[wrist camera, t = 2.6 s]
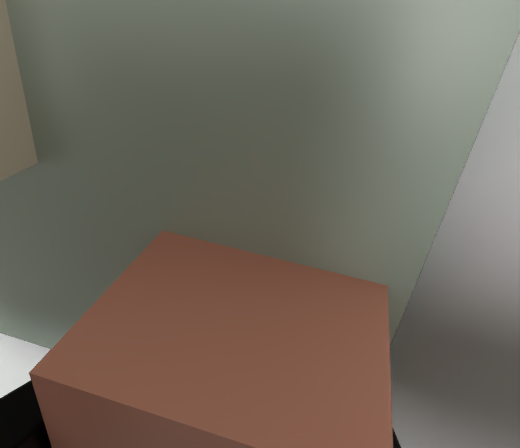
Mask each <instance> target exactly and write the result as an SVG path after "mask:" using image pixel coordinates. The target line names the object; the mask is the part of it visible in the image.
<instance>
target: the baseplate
mask: <svg viewBox="0 0 520 448" xmlns="http://www.w3.org/2000/svg"><path fill="white" fill-rule="evenodd" d="M5 1H6V6H7V11H8V16H9V21H10V26H11V31H12V35H13V40H14V45H15V50H16V55H17V60H18V65H19V70H20V75H21V80H22V85H23V90H24V95H25V100H26V105H27V110H28V115H29V120H30V125H31V130H32V135H33V140H34V145H35V150H36V155H37V160H38V163H37V164H35V165H32V166H30V167H28V168H26V169H24V170H22V171H20V172H18V173H16V174H14V175H12V176H10V177H7V178H5V179H3V180H1V181H0V333H2V334H5V335H9V336H12V337H15V338H18V339H21V340H24V341H28V342H31V343H34V344H37V345H40V346H44V347H47V348H50V349H52V348H53V347H54V346H55V345H56V344H57V343H58V341H59V340H60V339H61V338H62V337H63V336H64V335H65V334H66V333H67V332H68V331H69V330H70V329H71V328H72V326H73V325H74V324H75V323H76V322H77V321H78V320H79V319H80V318H81V317H82V316H83V315H84V314H85V313H86V311H87V310H88V309H89V308H90V307H91V306H92V305H93V304H94V303H95V302H96V301H97V300H98V299H99V298H100V296H101V295H102V294H103V293H104V292H105V291H106V290H107V289H108V288H109V287H110V286H111V285H112V284H113V283H114V282H115V280H116V279H117V278H118V277H119V276H120V275H121V274H122V273H123V272H124V271H125V270H126V269H127V268H128V267H129V265H130V264H131V263H132V262H133V261H134V260H135V259H136V258H137V257H138V256H139V255H140V254H141V253H142V252H143V250H144V249H145V248H146V247H147V246H148V245H149V244H150V243H151V242H152V241H153V240H154V239H155V238H156V237H157V236H158V234H159V233H160V232H161V231H162V230H163V231H167V232H171V233H175V234H179V235H183V236H187V237H191V238H195V239H199V240H203V241H208V242H212V243H216V244H220V245H224V246H228V247H232V248H236V249H240V250H244V251H248V252H252V253H256V254H261V255H265V256H269V257H273V258H277V259H281V260H285V261H289V262H293V263H297V264H301V265H305V266H309V267H314V268H318V269H322V270H326V271H330V272H334V273H338V274H342V275H346V276H350V277H354V278H358V279H362V280H367V281H371V282H375V283H379V284H383V285H387V286H388V312H389V342H390V345H391V343H392V341H393V338H394V336H395V333H396V331H397V328H398V326H399V324H400V321H401V319H402V316H403V314H404V311H405V309H406V307H407V304H408V302H409V299H410V297H411V295H412V292H413V290H414V287H415V285H416V282H417V280H418V278H419V275H420V273H421V270H422V268H423V265H424V263H425V261H426V258H427V256H428V253H429V251H430V248H431V246H432V244H433V241H434V239H435V236H436V234H437V231H438V229H439V227H440V224H441V222H442V219H443V217H444V214H445V212H446V210H447V207H448V205H449V202H450V200H451V197H452V195H453V193H454V190H455V188H456V185H457V183H458V180H459V178H460V176H461V173H462V171H463V168H464V166H465V164H466V161H467V159H468V156H469V154H470V151H471V149H472V147H473V144H474V142H475V139H476V137H477V134H478V132H479V130H480V127H481V125H482V122H483V120H484V117H485V115H486V113H487V110H488V108H489V105H490V103H491V100H492V98H493V96H494V93H495V91H496V88H497V86H498V83H499V81H500V79H501V76H502V74H503V71H504V69H505V66H506V64H507V62H508V59H509V57H510V54H511V52H512V50H513V47H514V45H515V42H516V40H517V37H518V35H519V33H520V0H5Z"/></svg>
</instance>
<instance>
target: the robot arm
mask: <svg viewBox="0 0 520 448" xmlns="http://www.w3.org/2000/svg"><path fill="white" fill-rule="evenodd" d="M392 431H393V448H401V446H400V444H399V441H398V439H397V437H396V434H395V432H394V430H393V427H392ZM0 448H52V446H51V443H50V440H49V436H48V433H47V430H46V426H45V423H44V420H43V417H42V413H41V410H40V407H39V404H38V400H37V397H36V394H35V391H34V387H33V384H32V381H29V382H27V383H26V384H24V385H22V386H20V387H19V388H17V389H15V390H14V391H12V392H10V393H9V394H7V395H5V396H4V397H2V398H0Z"/></svg>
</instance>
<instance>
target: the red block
mask: <svg viewBox="0 0 520 448" xmlns="http://www.w3.org/2000/svg"><path fill="white" fill-rule="evenodd" d="M29 374H30V377H31V381H32V384H33V387H34V391H35V394H36V397H37V400H38V404H39V407H40V410H41V413H42V417H43V420H44V423H45V426H46V430H47V433H48V436H49V440H50V443H51V446H52V448H393V431H392V402H391V372H390V342H389V312H388V286H387V285H383V284H379V283H375V282H371V281H367V280H362V279H358V278H354V277H350V276H346V275H342V274H338V273H334V272H330V271H326V270H322V269H318V268H314V267H309V266H305V265H301V264H297V263H293V262H289V261H285V260H281V259H277V258H273V257H269V256H265V255H261V254H256V253H252V252H248V251H244V250H240V249H236V248H232V247H228V246H224V245H220V244H216V243H212V242H208V241H203V240H199V239H195V238H191V237H187V236H183V235H179V234H175V233H171V232H167V231H163V230H162V231H161V232H160V233H159V234H158V236H157V237H156V238H155V239H154V240H153V241H152V242H151V243H150V244H149V245H148V246H147V247H146V248H145V249H144V250H143V252H142V253H141V254H140V255H139V256H138V257H137V258H136V259H135V260H134V261H133V262H132V263H131V264H130V265H129V267H128V268H127V269H126V270H125V271H124V272H123V273H122V274H121V275H120V276H119V277H118V278H117V279H116V280H115V282H114V283H113V284H112V285H111V286H110V287H109V288H108V289H107V290H106V291H105V292H104V293H103V294H102V295H101V296H100V298H99V299H98V300H97V301H96V302H95V303H94V304H93V305H92V306H91V307H90V308H89V309H88V310H87V311H86V313H85V314H84V315H83V316H82V317H81V318H80V319H79V320H78V321H77V322H76V323H75V324H74V325H73V326H72V328H71V329H70V330H69V331H68V332H67V333H66V334H65V335H64V336H63V337H62V338H61V339H60V340H59V341H58V343H57V344H56V345H55V346H54V347H53V348H52V349H51V350H50V351H49V352H48V353H47V354H46V355H45V356H44V357H43V359H42V360H41V361H40V362H39V363H38V364H37V365H36V366H35V367H34V368H33V369H32V370H31V371H30V372H29Z"/></svg>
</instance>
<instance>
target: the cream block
mask: <svg viewBox="0 0 520 448" xmlns="http://www.w3.org/2000/svg"><path fill="white" fill-rule="evenodd" d="M37 163H38V160H37V155H36V150H35V145H34V140H33V135H32V130H31V125H30V120H29V115H28V110H27V105H26V100H25V95H24V90H23V85H22V80H21V75H20V70H19V65H18V60H17V55H16V50H15V45H14V40H13V35H12V31H11V26H10V21H9V16H8V11H7V6H6V1H5V0H0V181H1V180H3V179H5V178H7V177H10V176H12V175H14V174H16V173H18V172H20V171H22V170H24V169H26V168H28V167H30V166H32V165H35V164H37Z"/></svg>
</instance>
